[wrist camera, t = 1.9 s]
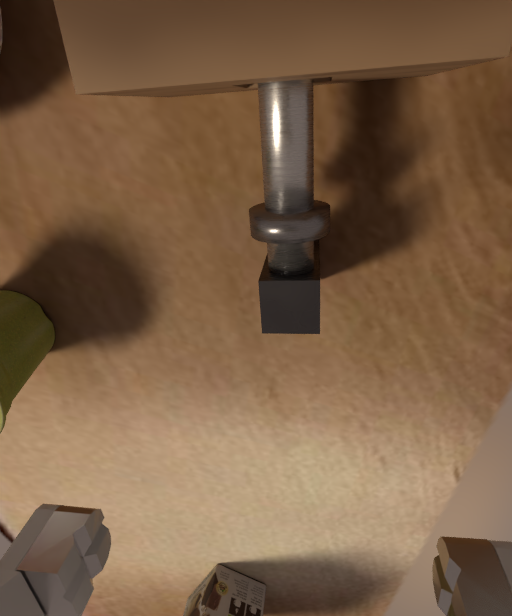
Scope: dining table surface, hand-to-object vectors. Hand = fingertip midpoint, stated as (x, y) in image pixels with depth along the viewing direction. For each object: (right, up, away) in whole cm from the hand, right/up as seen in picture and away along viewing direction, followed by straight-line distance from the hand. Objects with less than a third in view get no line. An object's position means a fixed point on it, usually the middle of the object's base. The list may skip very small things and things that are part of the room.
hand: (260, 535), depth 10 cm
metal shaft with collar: (+2, +16, +13) cm, 20 cm away
